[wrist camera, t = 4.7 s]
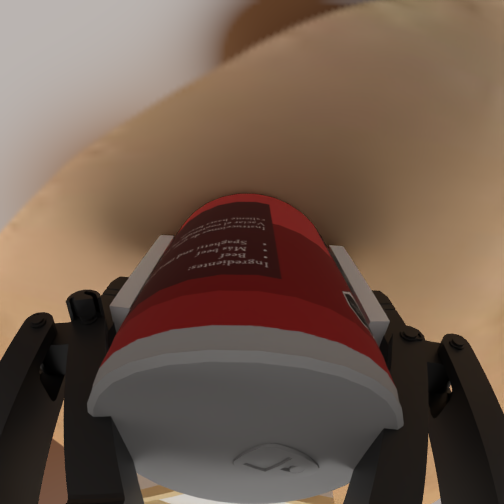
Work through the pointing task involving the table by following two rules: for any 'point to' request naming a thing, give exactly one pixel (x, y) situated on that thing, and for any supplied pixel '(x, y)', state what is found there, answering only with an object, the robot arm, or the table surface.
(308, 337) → the canned food
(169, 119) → the table surface
